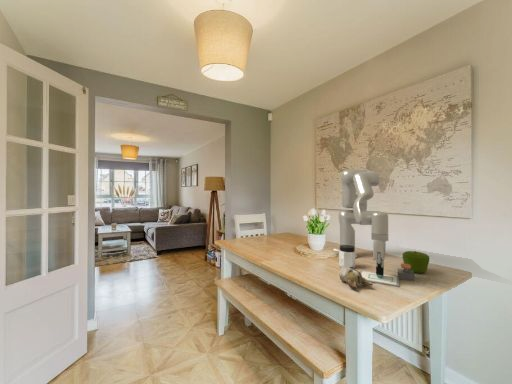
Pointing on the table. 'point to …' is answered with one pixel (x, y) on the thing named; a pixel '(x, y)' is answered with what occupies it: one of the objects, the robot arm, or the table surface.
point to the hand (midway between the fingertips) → (379, 273)
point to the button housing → (406, 274)
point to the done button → (406, 267)
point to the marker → (383, 271)
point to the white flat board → (385, 280)
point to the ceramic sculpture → (352, 277)
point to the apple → (416, 261)
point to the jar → (347, 256)
